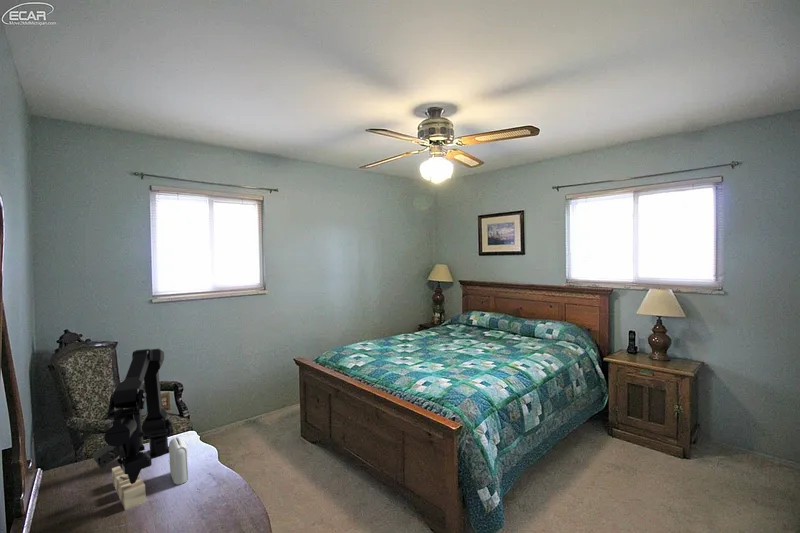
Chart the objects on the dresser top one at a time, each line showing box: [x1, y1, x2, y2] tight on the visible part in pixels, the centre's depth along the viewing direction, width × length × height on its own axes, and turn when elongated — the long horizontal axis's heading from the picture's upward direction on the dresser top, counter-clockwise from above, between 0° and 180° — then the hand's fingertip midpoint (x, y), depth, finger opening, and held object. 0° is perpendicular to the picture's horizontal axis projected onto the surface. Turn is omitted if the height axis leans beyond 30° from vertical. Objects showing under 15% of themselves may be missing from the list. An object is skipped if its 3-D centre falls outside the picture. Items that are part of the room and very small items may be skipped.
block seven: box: [116, 474, 141, 501], centre depth 115 cm, size 5×5×5 cm
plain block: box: [120, 478, 147, 511], centre depth 110 cm, size 5×5×5 cm
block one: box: [111, 465, 124, 489], centre depth 120 cm, size 5×5×5 cm
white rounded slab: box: [168, 436, 189, 485], centre depth 122 cm, size 10×4×12 cm, turn 39°
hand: (132, 483), depth 110 cm, fingers closed
